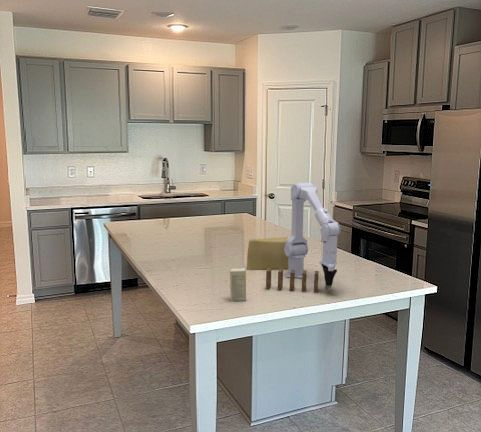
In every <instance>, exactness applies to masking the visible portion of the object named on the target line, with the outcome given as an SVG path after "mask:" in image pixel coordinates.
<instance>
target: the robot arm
mask: <svg viewBox="0 0 481 432" xmlns="http://www.w3.org/2000/svg"><path fill="white" fill-rule="evenodd" d="M318 196H319V195H318V187H317V186H316V184H315V182H299V183H298V182H294V183H293V184H292V185H291V187H290V201H291V234H290V237H289V238H288V239H287V240H286V244H285V248H284V251H285V254H286V256H287V257H288V269H287V273H286V276H285V277H286V278H290V272H291V269H292V270H295V279H297V278H298V279H302V272H303V270H305V268H304V266H305V265H304V264H305V259H304V258H306V255H308V253H309V246H308V240H307V239H306V238H305V237H304V207H305V206H304V204H305V202H307V201H308V203H309V204H310V206H311V207H312V209H313V210H314V211H315V213H314V217H315V219H316V221H317V222H318V224H319V226H320V228H319V230H320V234H321V241H322V260H319V262H318V263H319V264H320V265H321V268H322V271H323V275H324V281H325V280H326V285H327V286H331V287H333V286H332V285H333V282H334V280H335V279H334V278H335V276H336V275H337V272H338V270H337V268H335V267H336V265H337V256H338V255H337V254H338V253H337V252H338V236H340V235H341V231H342V228H341V225H340V223H339V222H338V221H336V220H334V219H333V218H332V216H331V214H330V212H329V211H328V209H327V208H325V207H323V205H322V203H321V201H320V198H319V197H318Z"/></svg>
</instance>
